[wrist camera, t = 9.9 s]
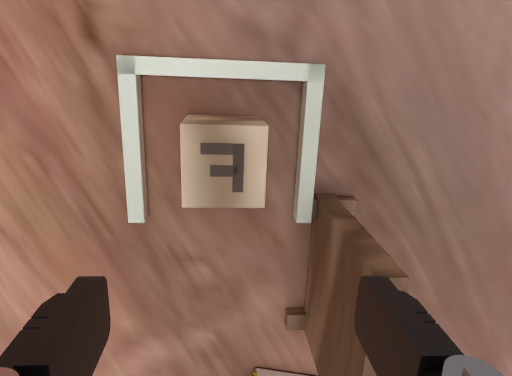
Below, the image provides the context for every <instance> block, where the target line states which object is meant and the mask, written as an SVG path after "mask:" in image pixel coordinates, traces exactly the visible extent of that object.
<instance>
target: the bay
mask: <svg viewBox="0 0 512 376" xmlns="http://www.w3.org/2000/svg"><path fill="white" fill-rule="evenodd" d="M116 60H117V74H118V88H119V101H120V115H121V129H122V142H123V156H124V170H125V183H126V197H127V211H128V223H144V222H145V220H146V219H147V217H148V206H147V187H146V169H145V151H144V133H143V115H142V97H141V78H140V75H161V76H186V77H211V78H237V79H262V80H287V81H303V90H302V103H301V117H300V130H299V143H298V156H297V169H296V183H295V196H294V209H293V217H294V219H295V221H296V223H311V217H312V206H313V196H314V185H315V174H316V163H317V152H318V142H319V131H320V120H321V109H322V98H323V88H324V77H325V66H326V64H306V63H284V62H261V61H239V60H216V59H194V58H171V57H149V56H126V55H116Z"/></svg>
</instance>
